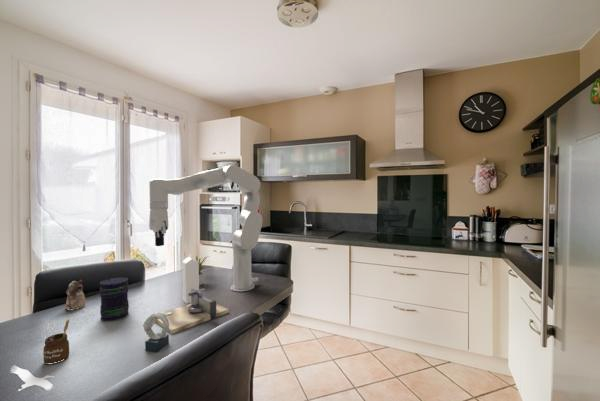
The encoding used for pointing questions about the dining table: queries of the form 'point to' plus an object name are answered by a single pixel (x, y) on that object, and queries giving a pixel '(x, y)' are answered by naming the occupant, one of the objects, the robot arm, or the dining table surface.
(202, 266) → the house plant
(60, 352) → the brown rounded container
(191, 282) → the milk
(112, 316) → the storage jar
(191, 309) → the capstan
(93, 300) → the dining table surface
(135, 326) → the dining table surface
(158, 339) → the white ring on base
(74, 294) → the figurine
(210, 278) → the dining table surface
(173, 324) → the cutting board
